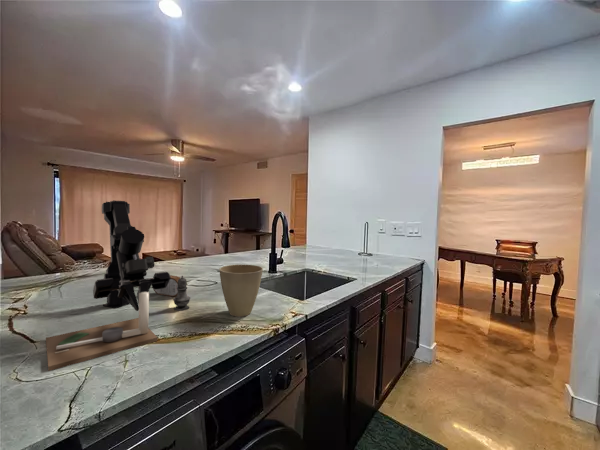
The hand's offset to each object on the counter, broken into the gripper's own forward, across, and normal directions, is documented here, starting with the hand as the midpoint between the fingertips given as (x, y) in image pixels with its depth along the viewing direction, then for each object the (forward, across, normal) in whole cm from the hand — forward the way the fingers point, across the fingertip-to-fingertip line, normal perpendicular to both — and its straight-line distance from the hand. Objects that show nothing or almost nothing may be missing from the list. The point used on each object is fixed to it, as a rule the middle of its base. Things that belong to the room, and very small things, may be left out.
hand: (139, 309), depth 75 cm
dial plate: (+3, -8, +7) cm, 11 cm away
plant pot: (+7, +31, +3) cm, 32 cm away
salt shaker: (-5, +18, +16) cm, 24 cm away
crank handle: (+4, -8, +4) cm, 10 cm away
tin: (-19, +19, +30) cm, 40 cm away
